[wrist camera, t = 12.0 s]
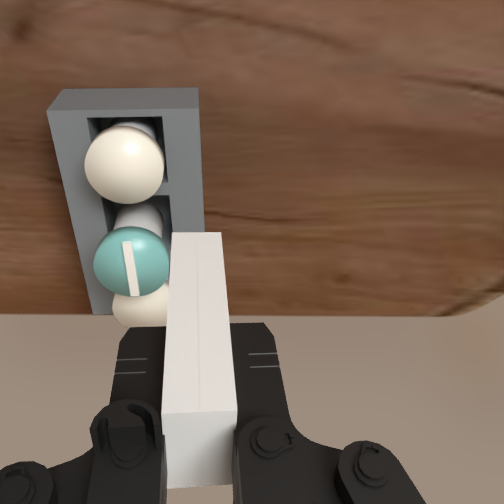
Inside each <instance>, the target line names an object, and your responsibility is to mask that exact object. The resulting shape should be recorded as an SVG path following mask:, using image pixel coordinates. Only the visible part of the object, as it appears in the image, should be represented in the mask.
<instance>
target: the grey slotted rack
mask: <svg viewBox="0 0 504 504" xmlns="http://www.w3.org/2000/svg"><path fill="white" fill-rule="evenodd" d="M46 112H47V116H48V120H49V125H50V129H51V133H52V138H53V142H54V146H55V151H56V155H57V160H58V164H59V168H60V173H61V177H62V181H63V186H64V190H65V194H66V199H67V203H68V207H69V212H70V216H71V220H72V225H73V229H74V233H75V238H76V242H77V247H78V251H79V255H80V260H81V264H82V268H83V273H84V277H85V281H86V286H87V290H88V294H89V299H90V303H91V307H92V312H93V315H102V314H113V310H112V304H113V299H114V295H115V293H114V292H112V291H110V290H108V289H107V288H105V287H104V286H103V285H102V284H101V283H100V282H99V280H98V279H97V277H96V275H95V272H94V267H93V262H94V258H95V254H96V251H97V248H98V245H99V243H100V241H101V239H102V238H103V237H104V236H105V235H106V234H107V233H109V232H110V231H112V230H113V228H114V224H115V221H116V217H117V213H118V211H119V209H120V208H121V206H123V205H124V204H122V203H117V202H113V201H111V200H108V199H106V198H105V197H103V196H101V195H100V194H99V193H98V192H97V191H96V190H95V189H94V188H93V187H92V186H91V184H90V183H89V181H88V179H87V176H86V173H85V167H84V163H85V157H86V154H87V152H88V149H89V147H90V145H91V143H92V141H93V140H94V138H95V137H96V136H97V135H98V134H99V133H100V132H102V131H103V130H105V129H107V128H110V126H111V123H112V121H113V120H114V119H115V117H149V118H150V119H151V120H152V121H153V122H154V124H155V125H156V127H157V130H158V142H157V143H158V145H159V146H160V148H161V150H162V153H163V156H164V171H163V179H162V182H161V185H160V187H159V188H158V190H157V191H156V192H155V194H153V195H152V196H151V197H150V198H148V199H146V200H144V201H148V202H150V203H152V204H154V205H155V206H156V207H157V208H158V209H159V210H160V211H161V213H162V216H163V231H162V239H163V241H164V242H165V243H166V245H167V247H168V250H169V254H170V260H171V244H172V232H205V224H204V203H203V181H202V159H201V137H200V116H199V94H198V87H187V88H98V89H63V90H62V91H61V92H60V94H59V95H58V96H57V98H56V99H55V100H54V101H53V103H52V104H51V105H50V107H49V108H48V109H47V111H46Z"/></svg>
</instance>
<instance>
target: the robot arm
mask: <svg viewBox="0 0 504 504" xmlns="http://www.w3.org/2000/svg"><path fill="white" fill-rule="evenodd" d="M90 433H91V438H92V443H93V447H92V448H91V449H90V450H89V451H87V452H86V453H85V454H84V455H82V456H80V457H78V458H75V459H73V460H71V461H68V462H65V463H62V464H60V465H57V466H54V467H51V468H48V469H47V468H46V467H45V466H44V465H41V464H39V463H36V462H34V461H32V462H31V461H29V462H17V463H15V464H12V465H9V466H6V467H4V468H3V469H1V470H0V504H166V498H167V489H168V488H182V487H198V486H213V485H228V484H233V499H234V500H233V504H426V503H425V501H424V500H423V498H422V497H421V495H420V493H419V492H418V490H417V489H416V487H415V485H414V484H413V482H412V481H411V479H410V478H409V476H408V475H407V473H406V472H405V470H404V468H403V467H402V465H401V464H400V462H399V460H397V458H396V457H395V456H394V455H393V454H392V453H391V451H390V450H388V449H386V448H385V447H383V446H381V445H380V444H377V443H374V442H370V441H356V442H353V443H351V444H350V445H348V446H346V447H345V448H344V450H340V449H336V448H332V447H328V446H324V445H321V444H318V443H315V442H313V441H310V440H309V439H307V438H306V437H304V436H303V435H302V434H301V433H300V432H299V431H298V430H297V429H296V428H295V426H294V425H293V423H292V422H291V418H290V415H289V411H288V406H287V401H286V396H285V391H284V386H283V381H282V376H281V371H280V368H279V361H278V355H277V350H276V345H275V340H274V336H273V334H272V333H271V332H270V330H269V329H268V328H267V327H266V325H265V324H264V323H229V314H228V303H227V292H226V282H225V271H224V260H223V249H222V239H221V232H172V244H171V260H170V277H169V293H168V310H167V326H157V327H130V328H129V330H128V331H127V332H126V334H125V335H124V337H123V338H122V339H121V341H120V343H119V350H118V356H117V362H116V368H115V375H114V379H113V386H112V391H111V397H110V403H109V405H108V406H106V407H104V408H103V409H102V410H101V411H100V412H99V413H98V414H97V415H96V416H95V417H94V419H93V422H92V424H91V427H90Z"/></svg>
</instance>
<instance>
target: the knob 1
mask: <svg viewBox="0 0 504 504" xmlns="http://www.w3.org/2000/svg"><path fill="white" fill-rule="evenodd" d="M157 142H158V130H157V127H156V125H155V124H154V122H153V121H152V120H151V119H150V118H149V117H115V119H114V120H113V121H112V123H111V126H110V128H107V129H105V130H103V131H102V132H100V133H99V134H98V135H97V136H96V137H95V138H94V140H93V141H92V143H91V145H90V147H89V149H88V152H87V154H86V157H85V163H84V167H85V173H86V176H87V179H88V181H89V183H90V184H91V186H92V187H93V188H94V189H95V190H96V191H97V192H98V193H99V194H100V195H101V196H103V197H105V198H106V199H108V200H111V201H113V202H117V203H122V204H134V203H139V202H142V201H144V200H146V199H148V198H150V197H151V196H152V195H153V194H155V192H156V191H157V190H158V188H159V187H160V185H161V182H162V179H163V171H164V156H163V153H162V150H161V148H160V146H159V145H158V143H157Z"/></svg>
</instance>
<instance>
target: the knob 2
mask: <svg viewBox="0 0 504 504" xmlns="http://www.w3.org/2000/svg"><path fill="white" fill-rule="evenodd" d="M169 277H170V263H169V274H168V277H167V279H166V281H165V283H164V284H163V285H162V286H161V287H160V288H159V289H158V290H156V291H155V292H153V293H151V294H148V295H145V296H139V297H129V296H123V295H119V294H116V293H115V295H114V299H113V304H112V310H113V314H114V316H115V318H116V319H117V320H118V321H119V323H121V324H122V325H123V326H125V327H127V328H130V327H157V326H167V310H168V293H169Z"/></svg>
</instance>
